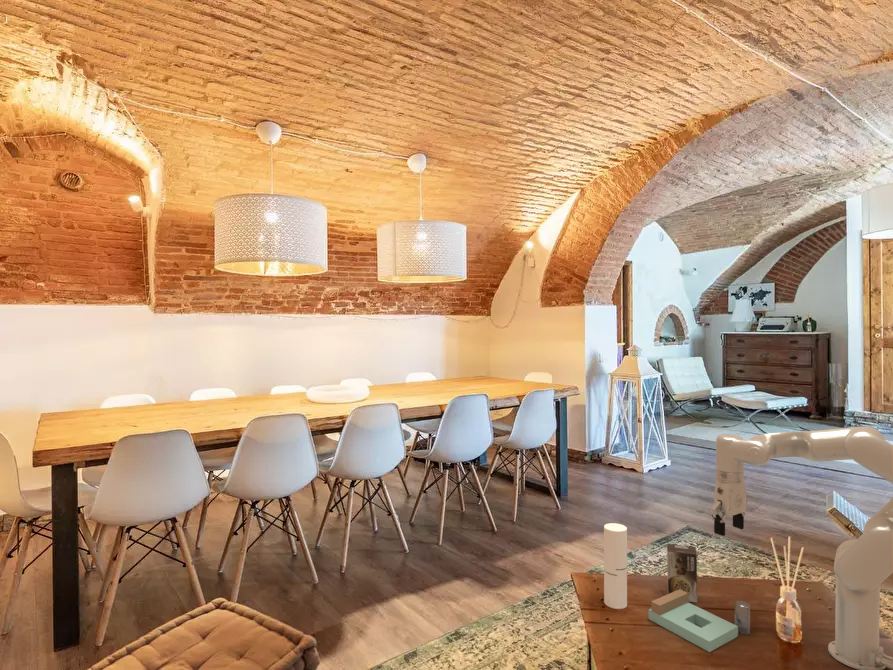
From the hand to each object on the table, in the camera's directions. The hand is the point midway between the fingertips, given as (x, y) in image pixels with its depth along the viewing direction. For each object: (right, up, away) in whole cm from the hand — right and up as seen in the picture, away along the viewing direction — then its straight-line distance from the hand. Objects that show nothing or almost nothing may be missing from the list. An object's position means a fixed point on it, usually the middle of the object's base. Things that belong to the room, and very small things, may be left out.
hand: (729, 531), depth 167 cm
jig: (-13, -28, -4) cm, 31 cm away
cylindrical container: (-32, -28, +11) cm, 43 cm away
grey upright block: (+1, -28, -6) cm, 28 cm away
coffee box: (-8, -27, +15) cm, 32 cm away
